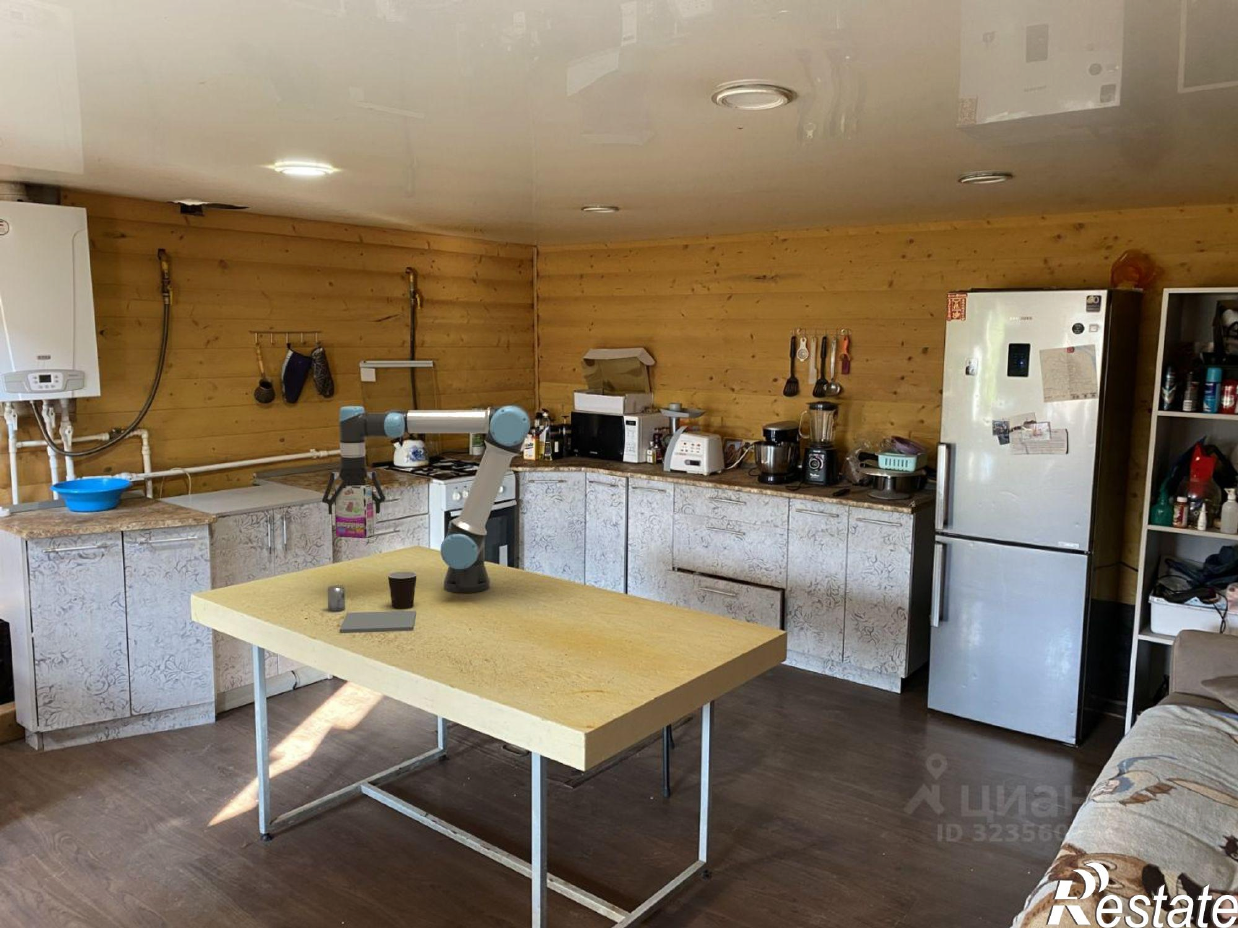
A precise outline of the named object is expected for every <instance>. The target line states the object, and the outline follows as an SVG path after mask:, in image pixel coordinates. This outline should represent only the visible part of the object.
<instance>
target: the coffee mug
mask: <svg viewBox="0 0 1238 928" xmlns="http://www.w3.org/2000/svg"><path fill="white" fill-rule="evenodd" d="M417 577H418V576H417V572H414V571H410V570H409V571H404V570H403V571H394V572H390V573H389V574H388V575H387V579H388V585H389V594H390V601H391V602H390V603H391V607H392V609H395V610H408V609H411V608H413V607H414V602H415V593H416V584H417Z"/></svg>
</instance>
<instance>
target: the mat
mask: <svg viewBox="0 0 1238 928" xmlns="http://www.w3.org/2000/svg"><path fill="white" fill-rule="evenodd" d="M416 616H417V610H398V611H397V610H396V611H394V610H393V611H390V610H389V611H364V612H362V611H361V612H347V613H346V614H345V617H344V618H343V621H342V623H341V625H340V628H339V634H343V633H348V634H349V633H371V632H372V633H373V632H377V633H378V632H402V631H403V632H406V631H407V632H408V631H414V628H415V627H414V626H415V623H416V622H415V621H416Z"/></svg>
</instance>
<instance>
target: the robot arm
mask: <svg viewBox="0 0 1238 928" xmlns="http://www.w3.org/2000/svg"><path fill="white" fill-rule="evenodd" d="M338 417H339V420H338V425H339V451H340V452H339V454H340V456H341V457H340V459H339V461H340V472H335V471H332V472H331V473H330V474H329V481H328V484H327V487H326V490H325V492H324V494H323V497H322V499H321V503H323V504H327V505H328V507H327V510H328V514H329V515H331V517H332V518H331V520H332V521H331V522H332V526H336V514H335V499H336V497H337V496H338V495H339V493H340V492H341V490H342V489H343V488H344V486H345V485H348V486H352V485H355V486H357V485H361V486H366V485H369V484H368V482H366V480H365V479H366V478H367V477H369V479H370V480H371V481H372V483H373V486H374V488H375V490H376V492H377V494H378V496H379V497H378V496H377V494H376V493H375V492H374V491H373V492H372V491H371V493H372V499H373V523H374V526H375V525H377V523H378V520H377V519H378V518H377V517H378V516H377V514H380V512H381V503H383V502H385V501H386V500H387V499H386V498H387V497H386V496H385V493H384V491H383V489H382V487H381V485H380V483H379V479H378V478H377V471H375V470H374V471H367V465H366V463H367V461H366V459H367V458H366V438H390V439H392V438H401V437H403V435H404V434H486V436H485V438H484V440H483V441H484V443H485V447H486V449H485V451H484V454H483V456H482V459H481V460H480V463H479V465H478V468H477V471H476V473H475V476H474V478H473V482H472V483H471V485H470V489H469V492H468V494H467V497H466V499H465V501H464V503H463V506H462V509H461V510H460V511H461V512H460V513H459V516H458V517H456V518H455V517H454V519H452V520H451V519H450V521H449V523H448V527H447V528H448V530H447V533H446V536H445V537H444V539H443V540H442V542H441V544H440V556H441V558H442V561H443V563H444V564H446V565H447V566H448V569H447V570H446V574H445V577H444V580H443V589H444V590H445V591H447V592H452V593H460V594H465V593H466V594H468V593H470V594H471V593H479V592H483V591H486V590H489V588H490V586H491V585H490V582H491V581H490V577H489V574H488V572H487V567H486V566H485V540H486V537H487V534H488V531H487V529H486V524H487V522H488V519H489V517H490V514H491V511H492V510H493V506H494V504H495V502H496V499H497V497H498V494H499V492H500V489H501V487H502V484H503V482H504V479H505V477H506V474H507V472H508V470H509V467H510V465H511V461H512V459H513V458H514V457H517V456H519V455H520V452H521V451H522V448H523V444H524V442H525V440H526V438H527V436H528V434H529V432H530V431H531V430H530V429H531V427H532V419H531V416H530V414H529V412H528V411H527V410H526V409H525V408H524V407H523V406H520V405H517V404H507V405H502V406H500V405H499V406H489V407H487V408H486V409H451V410H449V409H447V410H446V409H445V410H444V409H442V410H441V409H440V410H439V409H428V410H427V409H426V410H425V409H418V410H417V409H415V410H414V409H413V410H412V409H409V410H405V409H404V410H401V409H390V410H388V411H385V412H375V413H373V412H372V413H371V412H365V408H364V406H360V405H359V406H358V405H357V406H356V405H351V406H349V405H348V406H342V407H340V409H339V416H338ZM338 477H340V479H341V480H342V482H341V483H340V484H341V485H340V484H339V485H340V486H339V488H338V489H337V490H336V492H335V491H334V493H333V494H332V496H331V497H330V498H329V496H330V494H331V491H332V489H333V486H334V485H335V481H336V480H337V479H338Z"/></svg>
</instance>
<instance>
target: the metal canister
mask: <svg viewBox="0 0 1238 928" xmlns="http://www.w3.org/2000/svg"><path fill="white" fill-rule="evenodd" d="M345 610H346V586H345V585H341V584H336V585H329V586H328V587H327V611H328V612H329V613H340V612H344V611H345Z"/></svg>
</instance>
